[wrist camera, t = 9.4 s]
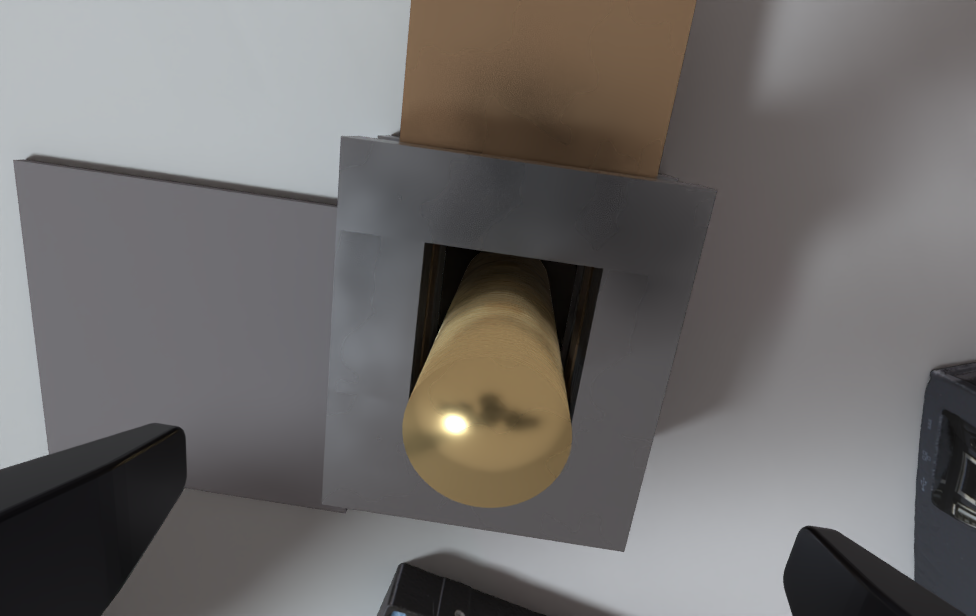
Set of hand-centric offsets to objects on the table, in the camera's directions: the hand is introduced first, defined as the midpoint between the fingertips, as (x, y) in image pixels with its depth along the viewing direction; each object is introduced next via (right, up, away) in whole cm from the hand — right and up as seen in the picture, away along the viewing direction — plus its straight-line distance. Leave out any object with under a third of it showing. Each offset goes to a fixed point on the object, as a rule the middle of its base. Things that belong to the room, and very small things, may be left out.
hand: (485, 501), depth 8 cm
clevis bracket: (+1, +5, +11) cm, 12 cm away
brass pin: (+1, +3, +11) cm, 12 cm away
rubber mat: (-11, +1, +13) cm, 17 cm away
